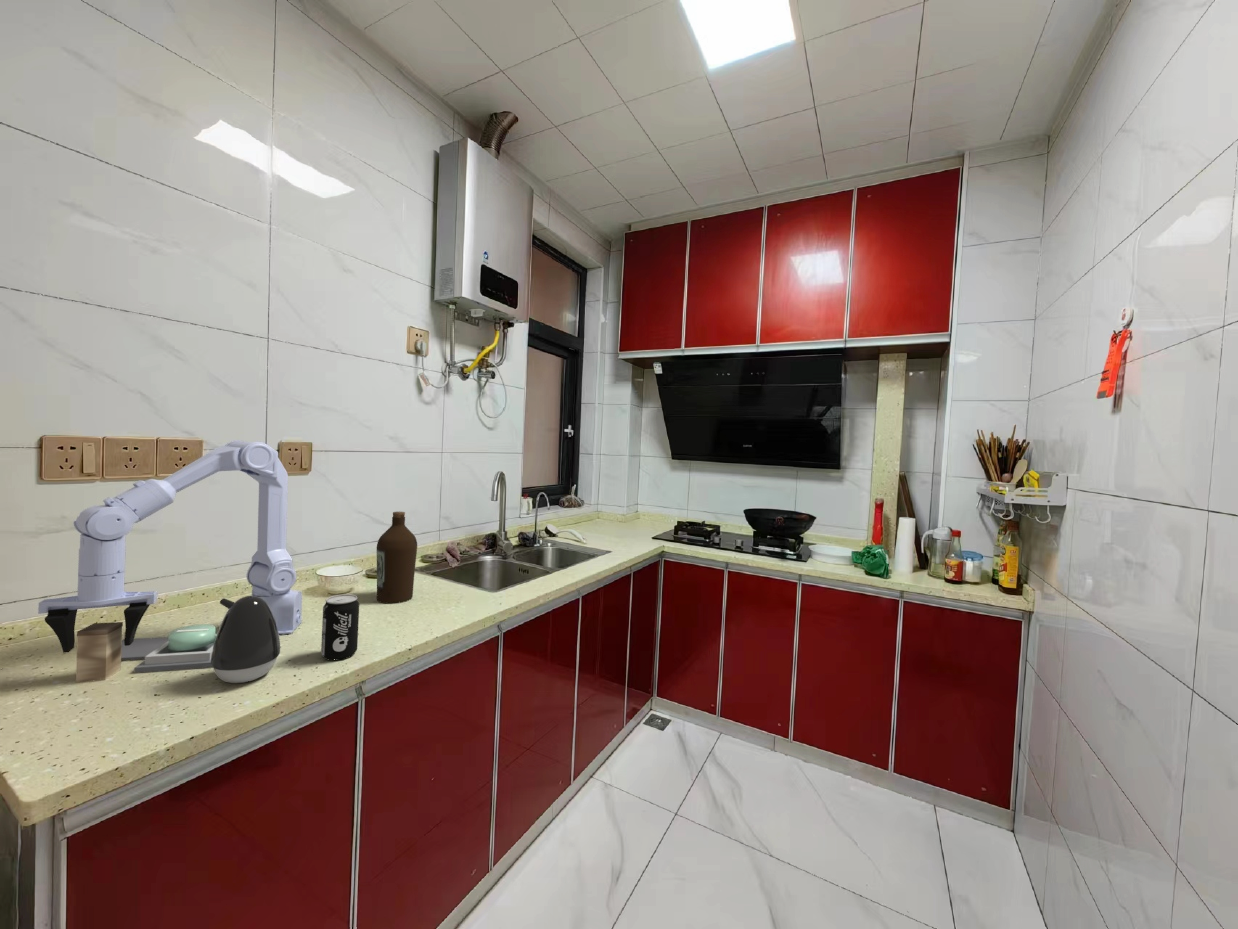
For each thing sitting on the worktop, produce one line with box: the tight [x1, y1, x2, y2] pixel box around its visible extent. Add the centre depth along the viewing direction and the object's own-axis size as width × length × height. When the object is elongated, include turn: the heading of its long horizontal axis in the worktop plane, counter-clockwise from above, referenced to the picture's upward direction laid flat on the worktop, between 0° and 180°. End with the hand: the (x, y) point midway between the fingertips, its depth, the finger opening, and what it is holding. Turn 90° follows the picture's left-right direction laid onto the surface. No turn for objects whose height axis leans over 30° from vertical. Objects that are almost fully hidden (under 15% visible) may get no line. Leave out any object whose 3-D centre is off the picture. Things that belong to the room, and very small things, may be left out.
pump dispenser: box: [211, 595, 281, 684], centre depth 89 cm, size 10×10×15 cm
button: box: [167, 623, 216, 651], centre depth 95 cm, size 7×7×3 cm
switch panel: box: [133, 633, 217, 674], centre depth 95 cm, size 12×12×2 cm
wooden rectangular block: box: [75, 621, 124, 683], centre depth 86 cm, size 4×4×9 cm
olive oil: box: [376, 511, 418, 604], centre depth 136 cm, size 11×11×25 cm
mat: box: [121, 636, 169, 662], centre depth 96 cm, size 10×10×1 cm
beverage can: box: [320, 593, 360, 661], centre depth 100 cm, size 7×7×12 cm
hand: (99, 646), depth 86 cm, fingers open, 7 cm apart
